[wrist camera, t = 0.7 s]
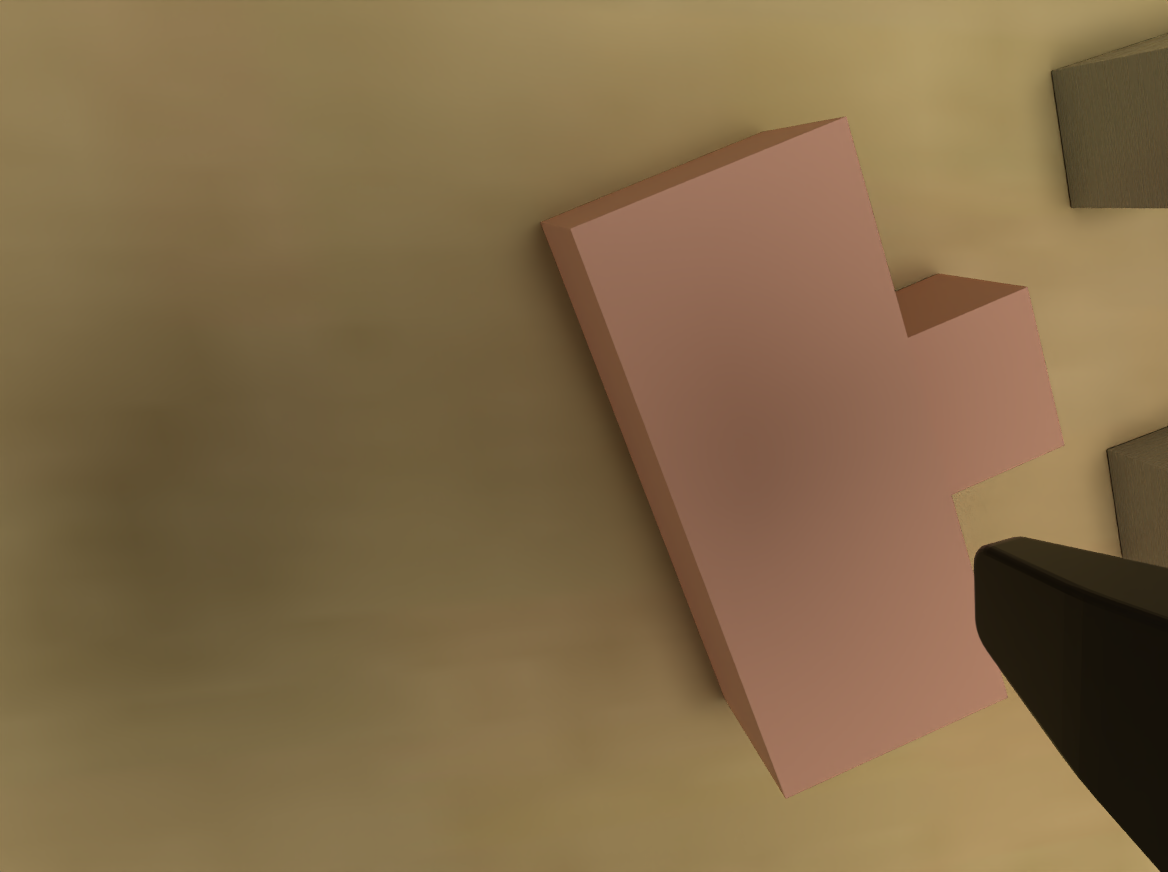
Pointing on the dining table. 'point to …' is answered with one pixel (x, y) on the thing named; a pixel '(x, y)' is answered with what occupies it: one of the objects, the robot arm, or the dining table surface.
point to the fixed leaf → (1123, 180)
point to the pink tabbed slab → (808, 436)
